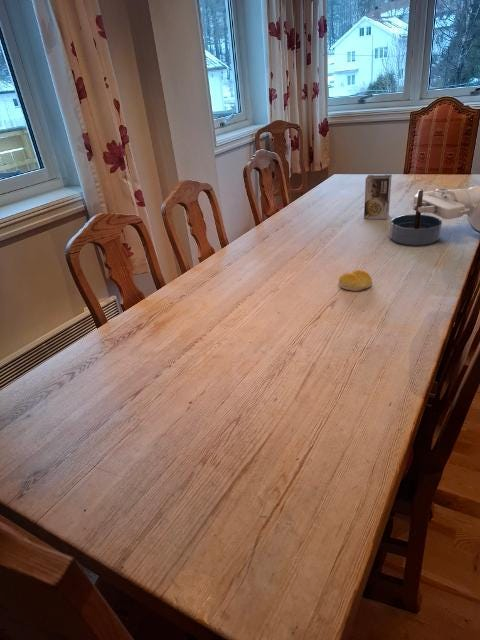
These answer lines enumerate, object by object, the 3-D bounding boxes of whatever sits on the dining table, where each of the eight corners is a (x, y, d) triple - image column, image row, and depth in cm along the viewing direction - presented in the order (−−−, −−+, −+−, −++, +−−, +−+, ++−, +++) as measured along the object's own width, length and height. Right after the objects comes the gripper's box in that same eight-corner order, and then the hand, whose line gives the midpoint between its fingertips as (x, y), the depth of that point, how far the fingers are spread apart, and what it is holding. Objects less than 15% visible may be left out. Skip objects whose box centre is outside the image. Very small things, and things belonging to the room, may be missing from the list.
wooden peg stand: (424, 231, 151) (430, 187, 144) (425, 237, 146) (431, 192, 139) (406, 231, 153) (411, 187, 146) (406, 236, 148) (411, 192, 141)
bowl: (437, 231, 154) (440, 214, 151) (440, 247, 141) (443, 229, 138) (390, 230, 159) (391, 214, 156) (388, 245, 146) (390, 228, 143)
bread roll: (333, 283, 125) (334, 270, 123) (360, 277, 127) (361, 264, 125) (348, 294, 118) (349, 281, 116) (377, 287, 120) (378, 274, 118)
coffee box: (389, 215, 174) (392, 174, 166) (386, 219, 169) (390, 177, 161) (366, 214, 178) (368, 174, 170) (363, 218, 173) (365, 177, 165)
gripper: (472, 220, 140) (433, 226, 138) (434, 205, 157) (399, 210, 155) (475, 201, 137) (435, 207, 135) (437, 187, 154) (401, 192, 152)
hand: (416, 208), depth 145 cm, fingers closed on wooden peg stand
